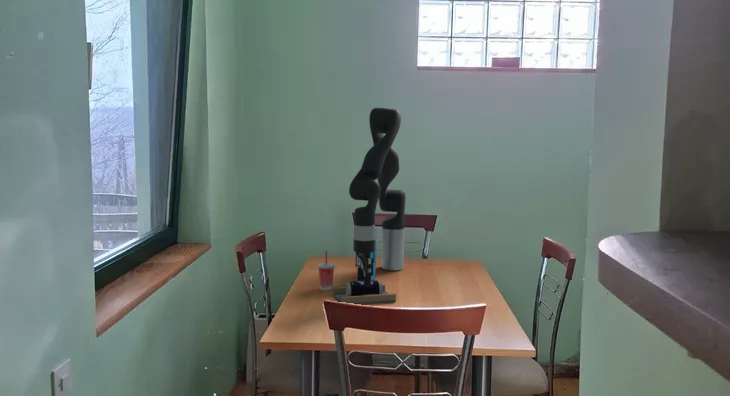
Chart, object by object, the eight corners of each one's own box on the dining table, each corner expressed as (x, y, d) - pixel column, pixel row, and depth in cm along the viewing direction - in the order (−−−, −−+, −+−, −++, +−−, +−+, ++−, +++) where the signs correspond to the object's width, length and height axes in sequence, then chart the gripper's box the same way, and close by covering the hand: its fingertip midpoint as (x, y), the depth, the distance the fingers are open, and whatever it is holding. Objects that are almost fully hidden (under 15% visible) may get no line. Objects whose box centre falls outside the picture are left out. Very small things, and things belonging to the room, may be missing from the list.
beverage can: (344, 289, 212) (377, 287, 216) (347, 302, 208) (381, 299, 211) (346, 278, 209) (380, 276, 212) (349, 290, 205) (383, 288, 208)
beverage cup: (327, 285, 228) (327, 248, 226) (337, 288, 223) (338, 251, 222) (314, 288, 223) (314, 250, 222) (325, 291, 219) (325, 253, 218)
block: (370, 286, 227) (370, 233, 224) (357, 286, 228) (357, 233, 225) (376, 279, 238) (376, 228, 236) (363, 278, 239) (364, 228, 237)
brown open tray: (332, 294, 215) (332, 287, 215) (384, 291, 220) (384, 284, 220) (341, 305, 202) (341, 297, 202) (396, 301, 208) (396, 294, 207)
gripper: (381, 241, 203) (380, 288, 205) (369, 233, 217) (368, 278, 219) (359, 242, 201) (358, 290, 203) (348, 234, 215) (348, 279, 217)
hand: (363, 283), depth 211 cm, fingers open, 8 cm apart
